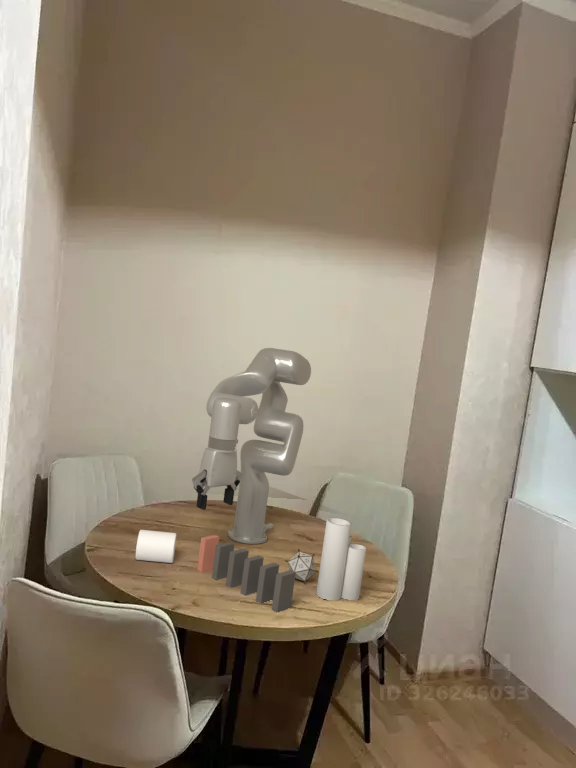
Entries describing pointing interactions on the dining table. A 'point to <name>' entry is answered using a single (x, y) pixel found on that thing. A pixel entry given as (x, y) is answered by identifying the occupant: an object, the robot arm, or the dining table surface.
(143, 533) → the mug
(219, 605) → the dining table surface
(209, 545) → the red tile
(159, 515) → the dining table surface
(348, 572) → the vase
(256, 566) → the black tile
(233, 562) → the dark gray domino tile
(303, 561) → the game die
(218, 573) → the black tile
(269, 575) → the black tile
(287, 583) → the grey domino block
